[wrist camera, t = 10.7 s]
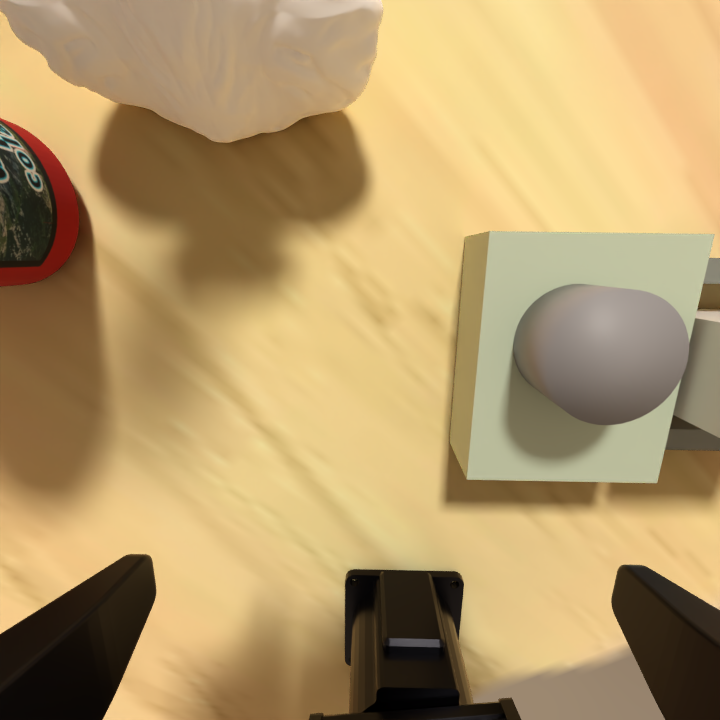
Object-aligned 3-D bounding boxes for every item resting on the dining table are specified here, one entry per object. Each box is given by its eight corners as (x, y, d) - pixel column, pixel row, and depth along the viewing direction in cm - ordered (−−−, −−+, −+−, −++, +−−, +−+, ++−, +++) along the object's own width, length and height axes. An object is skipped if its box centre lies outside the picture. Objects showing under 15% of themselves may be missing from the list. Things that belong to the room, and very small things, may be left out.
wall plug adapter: (725, 446, 20) (887, 531, 14) (449, 442, 20) (486, 523, 14) (782, 240, 17) (1012, 230, 11) (465, 236, 17) (520, 224, 11)
